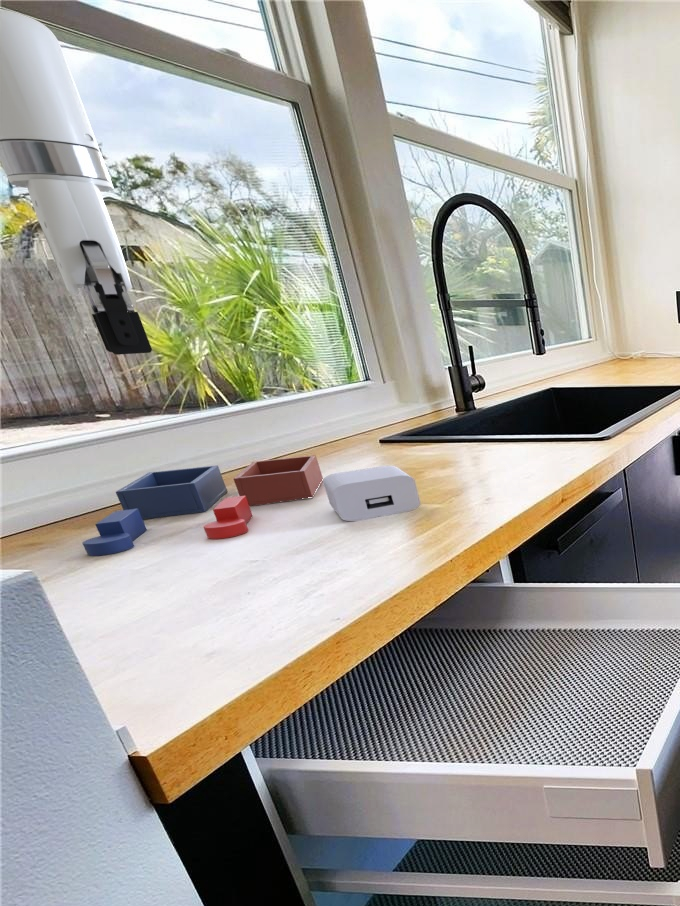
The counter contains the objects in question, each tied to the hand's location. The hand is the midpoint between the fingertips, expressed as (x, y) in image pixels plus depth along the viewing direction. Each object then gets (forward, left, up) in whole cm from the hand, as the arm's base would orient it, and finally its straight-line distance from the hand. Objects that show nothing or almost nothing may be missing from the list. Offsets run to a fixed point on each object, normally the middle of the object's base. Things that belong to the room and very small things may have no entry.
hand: (129, 352), depth 75 cm
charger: (+18, +5, -21) cm, 28 cm away
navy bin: (-7, +21, -21) cm, 30 cm away
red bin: (+6, +21, -21) cm, 30 cm away
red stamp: (+3, +2, -21) cm, 21 cm away
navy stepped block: (-8, +2, -21) cm, 23 cm away
